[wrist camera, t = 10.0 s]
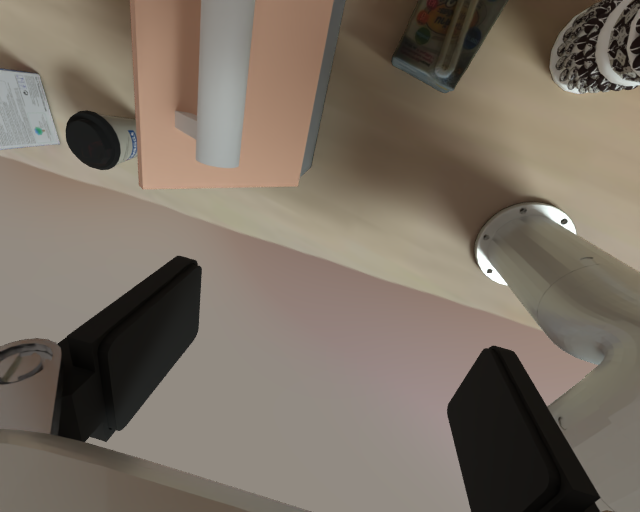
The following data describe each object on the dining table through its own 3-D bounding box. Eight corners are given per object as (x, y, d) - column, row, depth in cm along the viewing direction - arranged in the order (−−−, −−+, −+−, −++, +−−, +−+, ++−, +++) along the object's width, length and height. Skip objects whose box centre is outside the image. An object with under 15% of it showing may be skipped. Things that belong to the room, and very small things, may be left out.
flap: (336, -56, 26) (420, -71, 21) (292, 183, 35) (343, 211, 30) (118, -225, 15) (187, -338, 10) (138, 185, 25) (179, 228, 20)
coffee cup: (112, 139, 46) (50, 145, 37) (129, 99, 43) (66, 96, 34) (151, 170, 47) (100, 183, 38) (170, 133, 44) (120, 139, 36)
